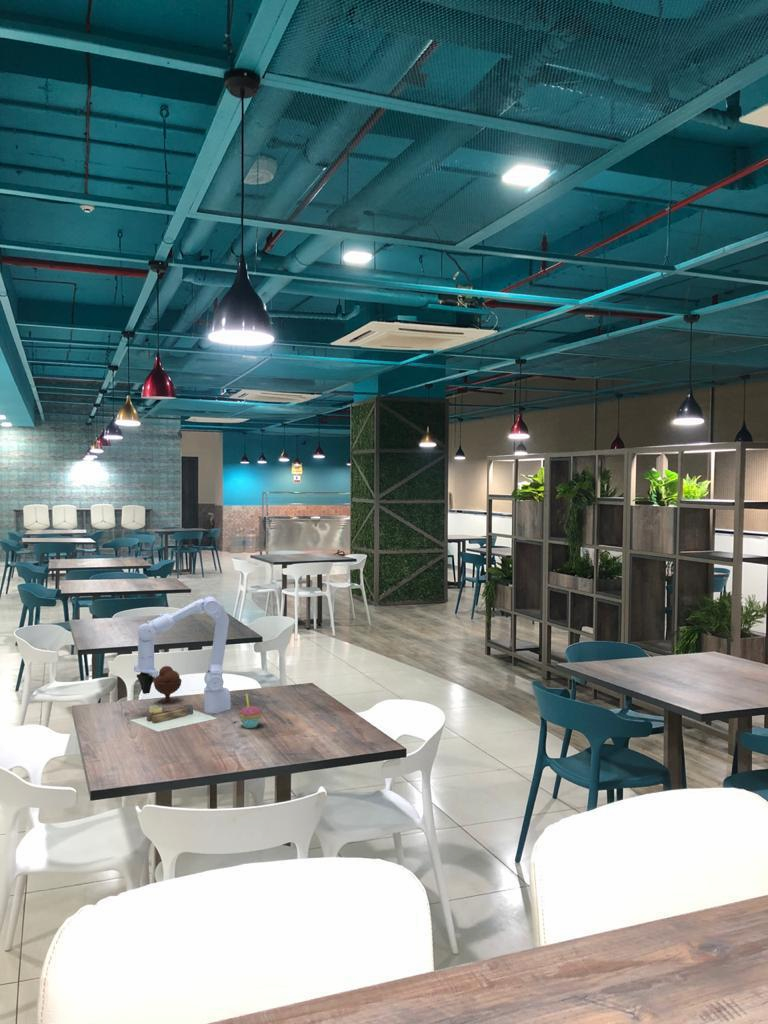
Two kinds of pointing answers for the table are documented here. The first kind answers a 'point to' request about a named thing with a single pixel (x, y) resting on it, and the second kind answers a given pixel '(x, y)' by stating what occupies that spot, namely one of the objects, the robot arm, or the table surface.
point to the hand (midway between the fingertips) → (146, 693)
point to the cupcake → (250, 715)
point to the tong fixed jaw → (189, 707)
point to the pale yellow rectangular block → (155, 709)
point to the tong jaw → (169, 715)
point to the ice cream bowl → (167, 682)
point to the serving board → (174, 721)
